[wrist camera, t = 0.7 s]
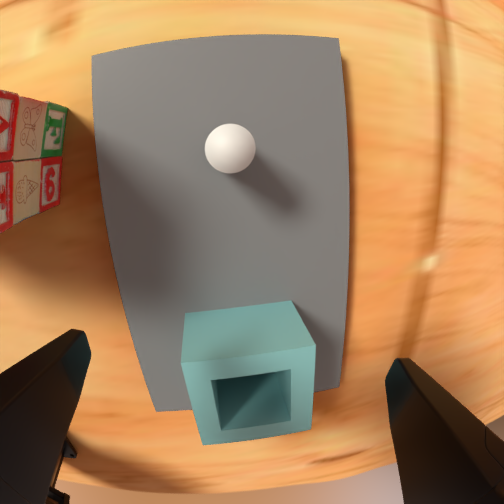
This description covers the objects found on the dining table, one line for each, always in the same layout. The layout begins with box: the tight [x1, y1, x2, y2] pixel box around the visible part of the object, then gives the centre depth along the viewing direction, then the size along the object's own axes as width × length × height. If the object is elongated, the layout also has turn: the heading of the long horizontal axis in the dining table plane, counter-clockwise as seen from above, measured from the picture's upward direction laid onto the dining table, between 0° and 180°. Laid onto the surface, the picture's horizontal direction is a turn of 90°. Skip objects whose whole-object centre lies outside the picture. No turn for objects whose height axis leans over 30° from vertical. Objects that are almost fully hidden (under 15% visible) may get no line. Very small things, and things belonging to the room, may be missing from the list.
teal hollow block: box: [181, 300, 316, 445], centre depth 18 cm, size 6×6×5 cm
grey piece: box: [92, 35, 349, 412], centre depth 17 cm, size 24×14×6 cm, turn 4°
